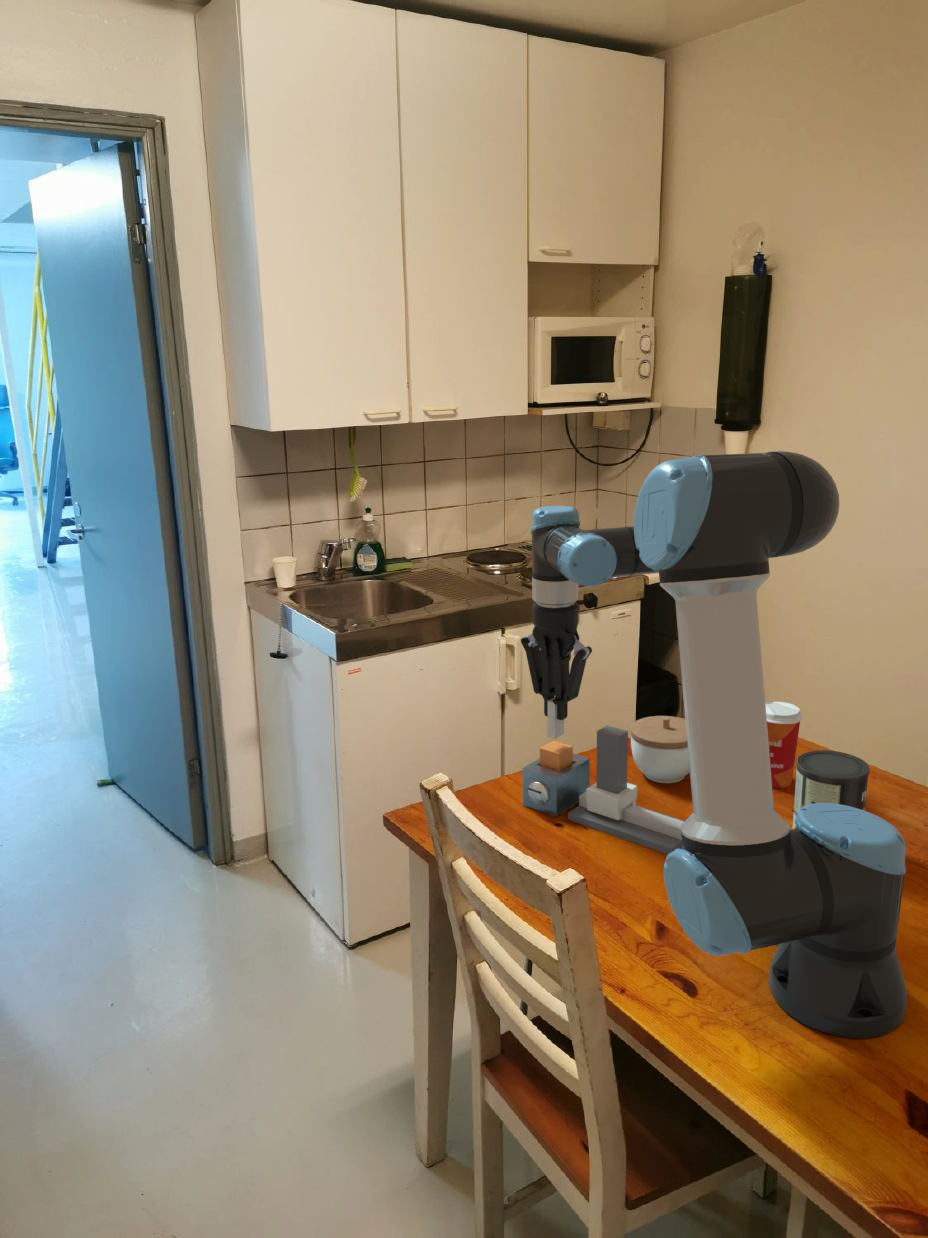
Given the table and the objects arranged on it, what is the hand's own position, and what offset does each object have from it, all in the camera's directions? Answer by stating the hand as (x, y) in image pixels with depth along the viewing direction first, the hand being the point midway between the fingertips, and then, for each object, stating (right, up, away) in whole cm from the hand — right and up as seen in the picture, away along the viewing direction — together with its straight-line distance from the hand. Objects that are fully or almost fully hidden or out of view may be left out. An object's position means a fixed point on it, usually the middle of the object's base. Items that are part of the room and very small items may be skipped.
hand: (555, 735), depth 156 cm
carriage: (+9, -12, -4) cm, 15 cm away
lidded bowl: (+21, -9, +12) cm, 26 cm away
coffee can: (+40, -16, -14) cm, 46 cm away
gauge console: (0, -12, +3) cm, 12 cm away
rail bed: (+12, -14, -6) cm, 19 cm away
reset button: (0, -6, +2) cm, 6 cm away
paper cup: (+40, -9, +7) cm, 42 cm away
